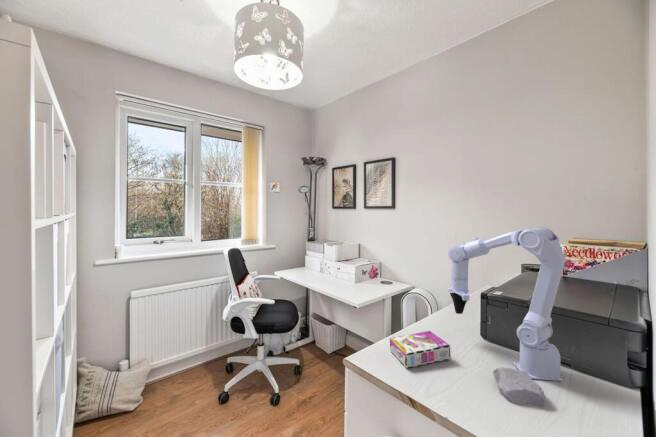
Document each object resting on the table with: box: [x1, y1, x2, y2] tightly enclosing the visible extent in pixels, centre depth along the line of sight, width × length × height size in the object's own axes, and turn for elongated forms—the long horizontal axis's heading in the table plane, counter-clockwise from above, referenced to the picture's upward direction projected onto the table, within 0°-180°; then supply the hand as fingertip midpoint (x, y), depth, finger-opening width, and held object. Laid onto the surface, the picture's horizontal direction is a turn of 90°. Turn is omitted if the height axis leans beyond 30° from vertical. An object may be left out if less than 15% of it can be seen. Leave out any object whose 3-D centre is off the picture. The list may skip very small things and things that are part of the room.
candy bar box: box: [389, 330, 451, 369], centre depth 93 cm, size 11×5×16 cm
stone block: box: [492, 367, 546, 407], centre depth 76 cm, size 12×5×10 cm
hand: (458, 313), depth 104 cm, fingers closed
